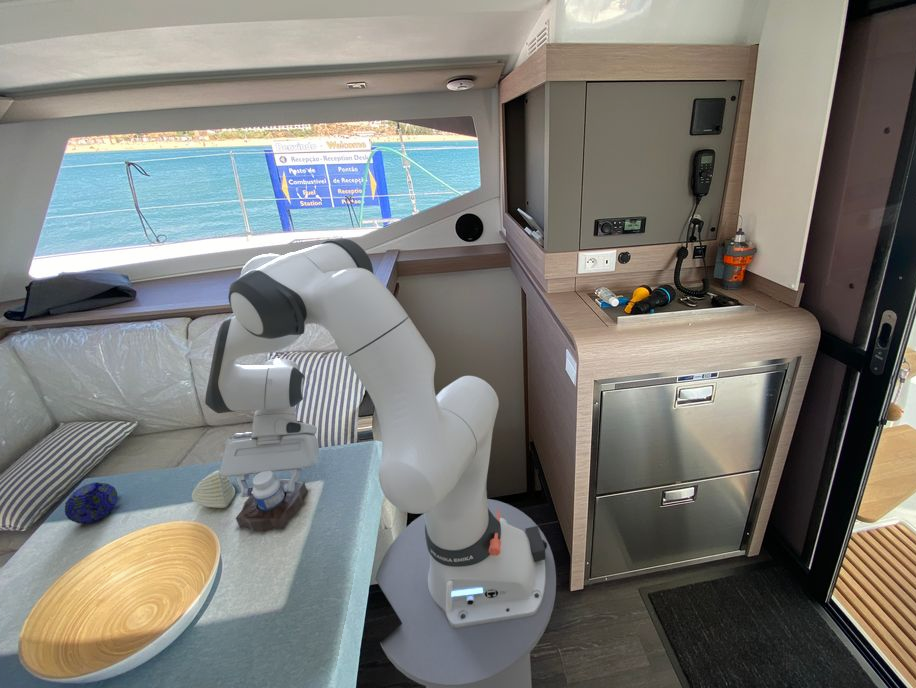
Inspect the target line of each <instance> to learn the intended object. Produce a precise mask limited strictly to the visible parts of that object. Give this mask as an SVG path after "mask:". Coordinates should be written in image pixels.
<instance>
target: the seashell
mask: <svg viewBox="0 0 916 688" xmlns="http://www.w3.org/2000/svg"><path fill="white" fill-rule="evenodd" d="M235 495H236V489H235V486H234V485H233V483H232V480H231V478H230V476H229V477H224V476H222V474H221V473H220V469H218V470H215V471H213V472H212V473H210V474H208V475H207V476H206V477H204V478H203V479H202V480H200V481H199V483H197V484H196V486H195V488H194V489H193V491H192V493H191V499H192V501H193V502H194V503H195V504H197V505H199V506H202V507H207V508H213V509H225V508H227V507H228V506H229V505H230V503H232V501H233V500H234V498H235Z"/></svg>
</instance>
